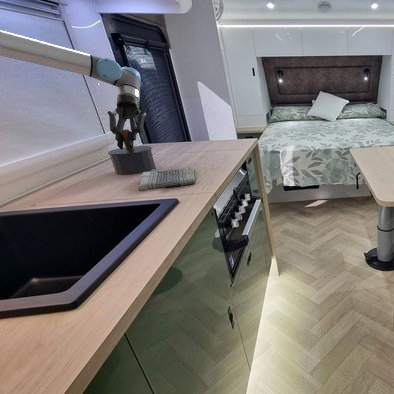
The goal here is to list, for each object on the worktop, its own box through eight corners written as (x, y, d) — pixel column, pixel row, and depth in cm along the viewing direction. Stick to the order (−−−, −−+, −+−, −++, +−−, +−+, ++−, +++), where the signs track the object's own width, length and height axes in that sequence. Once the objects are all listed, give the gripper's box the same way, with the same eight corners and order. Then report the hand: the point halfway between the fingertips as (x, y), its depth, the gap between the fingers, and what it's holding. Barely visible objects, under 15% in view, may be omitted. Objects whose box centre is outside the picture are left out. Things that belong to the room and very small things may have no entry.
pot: (108, 176, 114) (101, 155, 111) (128, 167, 127) (122, 148, 123) (145, 175, 116) (139, 154, 113) (161, 165, 128) (156, 146, 125)
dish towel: (197, 184, 105) (195, 176, 104) (138, 193, 97) (135, 184, 96) (196, 171, 120) (194, 163, 119) (145, 177, 113) (143, 169, 111)
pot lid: (99, 157, 111) (91, 133, 107) (122, 149, 124) (115, 127, 121) (140, 156, 112) (133, 132, 109) (158, 148, 126) (153, 126, 122)
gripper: (153, 105, 128) (152, 150, 119) (111, 106, 123) (106, 153, 115) (146, 93, 121) (144, 140, 112) (101, 94, 117) (95, 143, 108)
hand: (125, 147), depth 114 cm, fingers closed on pot lid, 3 cm apart
